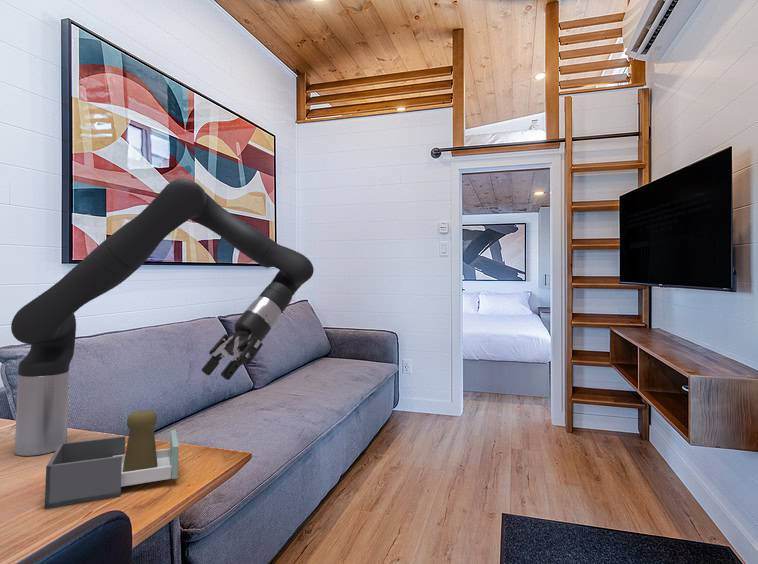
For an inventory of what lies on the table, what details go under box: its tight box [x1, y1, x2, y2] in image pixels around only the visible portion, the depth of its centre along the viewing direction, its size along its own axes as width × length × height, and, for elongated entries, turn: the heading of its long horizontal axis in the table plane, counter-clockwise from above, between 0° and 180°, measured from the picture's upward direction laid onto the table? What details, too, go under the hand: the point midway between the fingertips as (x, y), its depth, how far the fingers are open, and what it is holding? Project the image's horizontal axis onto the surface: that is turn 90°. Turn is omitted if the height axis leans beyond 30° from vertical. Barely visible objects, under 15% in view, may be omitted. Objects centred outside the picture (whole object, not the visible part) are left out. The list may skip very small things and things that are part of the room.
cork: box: [122, 409, 158, 472], centre depth 84 cm, size 6×6×11 cm
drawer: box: [113, 429, 180, 487], centre depth 84 cm, size 11×11×6 cm
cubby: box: [44, 435, 126, 510], centre depth 80 cm, size 11×12×7 cm
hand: (214, 375), depth 95 cm, fingers open, 8 cm apart
